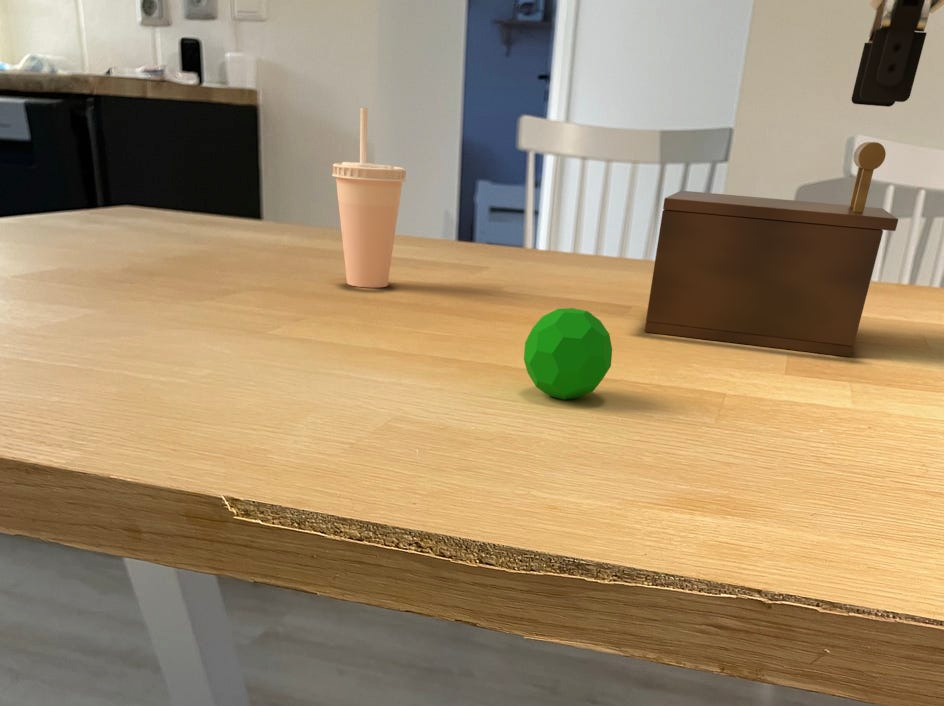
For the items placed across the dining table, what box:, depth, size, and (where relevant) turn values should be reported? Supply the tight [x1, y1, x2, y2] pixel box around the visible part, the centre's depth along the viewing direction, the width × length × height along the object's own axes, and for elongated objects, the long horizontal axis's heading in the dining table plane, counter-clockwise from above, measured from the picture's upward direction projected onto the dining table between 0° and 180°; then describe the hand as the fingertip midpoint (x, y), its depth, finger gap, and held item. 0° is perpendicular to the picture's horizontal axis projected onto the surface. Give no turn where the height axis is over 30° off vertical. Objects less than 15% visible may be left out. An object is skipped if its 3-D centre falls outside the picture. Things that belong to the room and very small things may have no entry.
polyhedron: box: [523, 307, 613, 400], centre depth 54 cm, size 5×5×5 cm
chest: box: [644, 209, 884, 358], centre depth 76 cm, size 16×13×9 cm
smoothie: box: [331, 107, 407, 289], centre depth 83 cm, size 6×6×14 cm
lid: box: [662, 141, 899, 232], centre depth 73 cm, size 16×13×5 cm
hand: (877, 102), depth 69 cm, fingers open, 9 cm apart
